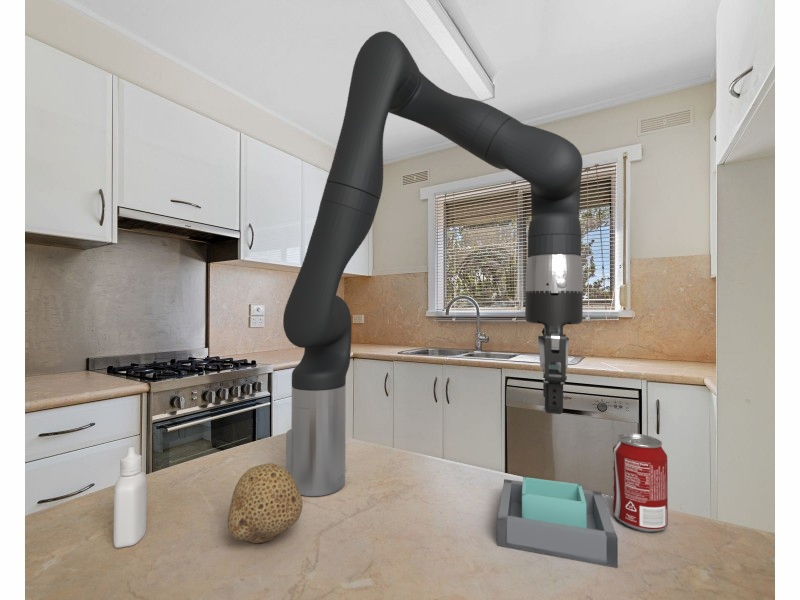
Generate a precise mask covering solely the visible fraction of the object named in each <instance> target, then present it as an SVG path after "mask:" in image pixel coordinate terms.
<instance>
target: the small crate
mask: <svg viewBox="0 0 800 600" xmlns="http://www.w3.org/2000/svg"><path fill="white" fill-rule="evenodd" d="M522 482H523V486H522V518H526V519H532V520H538V521H544V522H550V523H557V524H563V525H569V526H575V527H581V528H586V501H585V497H584V493H583V490H584V489H583V485H582V484H579V483H574V482H573V483H571V482H565V481H557V480H550V479H542V478H533V477H526V476H523V477H522Z"/></svg>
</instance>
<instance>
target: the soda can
mask: <svg viewBox="0 0 800 600" xmlns="http://www.w3.org/2000/svg"><path fill="white" fill-rule="evenodd" d="M617 439H618V440H617V441H616V443H615V444H614V446H613V447H612V462H613V463H612V488H613V489H612V490H613V491H612V506H613V507H612V512H613V515H614V517H615V518H616V519H617V520H618V521H619V522H621V523H622V524H624V525H625V526H627V527H628V528H631V529H633V530H636V531H639V532H643V533H656V532H659V531H663V530H666V529H667V527H668V521H669V519H668V517H669V516H668V515H669V513H668V509H669V507H668V504H669V503H668V502H669V501H668V496H669V495H668V476H669V475H668V454H667V453H666V452H665V450H664V448H663V447H662V446H663V442H662V441H661V440H660V439H658V438H656V437H653V436H651V435H646V434H640V433H633V432H632V433H631V432H629V433H628V432H627V433H625V432H624V433H620V434H619V435H618V436H617Z"/></svg>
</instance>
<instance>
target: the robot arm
mask: <svg viewBox="0 0 800 600" xmlns="http://www.w3.org/2000/svg"><path fill="white" fill-rule="evenodd" d="M349 83H350V85H349V89H348V96H347V100H346V107H345V112H344V116H343V121H342V126H341V129H340V131H339V137H338V140H337V143H336V149H335V152H334V155H333V159H332V163H331V166H330V170H329V173H328V176H327V179H326V182H325V186H324V188H323V192H322V196H321V200H320V204H319V206H318V207H319V208H318V212H317V216H316V218H315V222H314V226H313V229H312V232H311V236H310V238H309V242H308V245H307V249H306V252H305V256H304V259H303V262H302V264H301V267H300V270H299V271H298V274H297V277H296V279H295V282H294V285H293V286H292V290H291V292H290V294H289V297H288V299H287V302H286V305H285V307H284V312H283V317H282V318H283V319H282V326H283V331H284V335H285V336H286V337H287V340H288V341H289V342H290V343H291V344H292V345H294V346H295V347H297V348H302V349H304V352H303V356H302V358H301V360H300V361H299V363H298V364H297V365H296V366H295V367H294V369H293V370H292V372H291V423H290V424H291V425H290V426H291V427H290V428H291V429H288V430H287V431H286V434H285V436H286V437H285V438H286V439H285V441H286V443H285V469H286V470H287V471H288V472H289V473H290V474H291V475H292V477H293V479H294V481H295V483H296V485H297V488H298V491H299V493H300V495H301V496H306V497H319V496H326V495H331V494H334V493H336V492H338V491H340V490H341V489H342V488H344V487H345V485H346V471H347V470H346V413H347V411H346V405H347V403H346V397H347V396H346V395H347V394H346V390H347V389H346V388H347V386H346V383H347V382H346V381H347V373H348V370H349V368H350V363H351V351H352V350H351V349H352V330H353V329H352V325H353V324H352V316H351V311H350V308H349V305H348V304H347V302H346V301H345V300H344V299H343V298H342V297H340V296H339V295H337V293H338V290H339V287H340V283H341V279H342V276H343V274H344V272H345V270H346V267H347V265H348V264H349V262H350V260H351V259H352V258H353V256H354V255H355V253H356V252H357V251H358V249H360V247H361V245H362V243H363V242H364V241H365V239H366V237H367V236H368V234H369V233H370V230H371V228H372V225H373V223H374V220H375V218H376V213H377V210H378V207H379V204H380V200H381V198H382V197H381V195H382V192H383V186H384V132H385V127H386V124H387V123H386V122H387V119H388V115H389V114H392V115H394V116H398V117H400V118H402V119H406V120H409V121H412V122H414V123H416V124H419V125H421V126H424V127H425V128H428V129H429V130H432V131H434V132H436V133H437V134H440V135H441V136H443V137H444V138H446V139H448V140H449V141H451V142H453V143H454V144H456V145H457V146H459V147H460V148H462V149H463V150H465V151H467V152H468V153H470V154H472V155H473V156H475V157H476V158H478V159H480V160H482V161H483V162H485V163H487V164H488V165H490V166H491V167H494V168H495V169H498V170H507V171H509V172H512V173H513V174H515V175H517V176H518V177H520V178H522V179H523V180H525V181H526V182H527V183H529V184H530V197H531V199H530V202H531V203H530V206H531V207H530V208H531V215H530V217H531V220H530V222H529V224H528V232H527V263H526V271H525V294H524V297H525V300H524V302H525V303H524V304H525V305H524V306H525V307H524V310H525V311H524V312H525V313H524V319H525V321H526V322H527V323H531V324H540V325H541V324H542V325H543V326H544V327H543V328H542V330H541V334H542V335H537V348H538V349H537V350H538V351H539V367H540V368H541V370H542V372H543V376H542V377H543V378H542V383H543V388H542V390H543V391H542V392H543V393H542V395H543V397H544V411H545V412H546V413H547V414H553V415H554V414H555V415H561V414H563V412H564V386H565V383H566V382H567V379H568V377H567V373H566V371H567V369H568V365H569V356H568V355H569V354H568V352H569V349H570V338H569V337H568V336H567V334H565V333H564V326H566V325H579V324H581V323H582V322H583V317H584V316H583V313H584V312H583V308H584V307H583V304H584V301H583V300H584V298H583V297H584V294H583V292H584V290H583V289H584V286H583V285H584V272H583V270H584V269H583V265H582V263H583V262H582V226H581V220H580V203H581V191H582V189H581V187H582V174H583V173H582V172H583V166H584V165H583V157H582V154H581V152H580V150H579V148H578V147H576V145H575V144H574V143H572V142H571V141H569V140H568V139H566V138H565V137H564V136H561V135H559V134H556V133H554V132H552V131H550V130H549V131H548V130H545V129H542V128H539V127H536V126H533V125H529V124H524V123H522V122H521V121H519V120H518V119H516V118H515V117H513V116H512V115H509V114H507V113H505V112H504V111H502V110H500V109H498V108H497V107H495V106H493V105H491V104H488V103H486V102H483V101H480V100H477V99H473V98H470V97H462V96H459V95H454V94H453V93H450V92H447V91H445V90H444V89H442V88H441V87H440V86H438V85H436V84H435V83H434V82H432V81H431V80H430V79H429V78H428V77H426V75H424V74H423V73H422V71H420V68H419V66H418V65H417V62H416V61H415V59H414V58H413V56H412V54H411V52H410V51H409V49H408V47H407V46H406V44H405V43H404V42H403V41H402V40H401V38H399V37H398V35H396V34H395V33H393V32H390V31H385V30H384V31H378V32H375V33H374V34H373V35H371V36H370V37H368V39H367V40H366V41H365V42H364V43H363V45H362V46H361V47H360V49H359V51H358V53H357V55H356V58H355V61H354V65H353V67H352V73H351V78H350V82H349Z"/></svg>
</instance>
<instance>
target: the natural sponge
mask: <svg viewBox="0 0 800 600" xmlns="http://www.w3.org/2000/svg"><path fill="white" fill-rule="evenodd" d="M234 487H235V488H234V490H233V494H232V496H231V500H230V501H231V502H230V505H229V510H228V515H227V529H228V532H229V534H230V536H231V537H233V538H234V539H236V540H239V541H246V542H249V543H254V544H262V543H263V544H264V543H266V542H270V541H271V540H273V539H274V538H275V537H276V536H277V535H279V534H281V533H283V532H285V531H286V530H288V529H289V528H291V527H292V526H293V525H294V524H295V523H297V521H298V520H299V519H300V516H301V514H302V512H303V498H302V495H300V493H299V491H298V488H297V485H296V483H295V481H294V479H293V477H292V475H291V474H290V473H289V472H288V471H287V470H286V468H284V467H283V466H281V465H279V464H277V463H273V462H270V463H264V464H260V465H259V464H258V465H255V466H252V467H250V468H249V469H247V470H246V471H245V472H244V473H243V475H241V476H240V477H239V479H238V481H237V483H236V484H235V486H234Z"/></svg>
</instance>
